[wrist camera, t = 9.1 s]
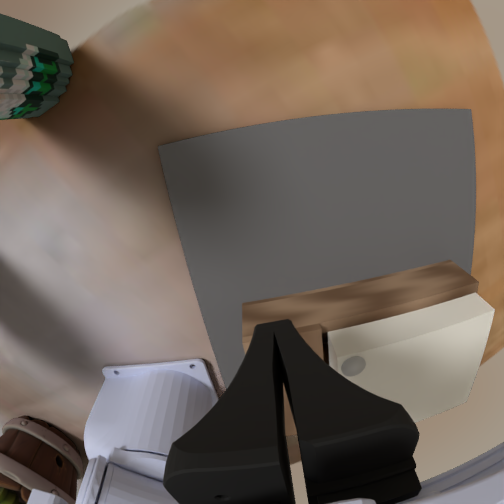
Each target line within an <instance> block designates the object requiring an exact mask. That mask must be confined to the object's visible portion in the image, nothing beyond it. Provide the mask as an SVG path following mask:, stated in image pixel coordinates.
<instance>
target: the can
mask: <svg viewBox="0 0 504 504" xmlns="http://www.w3.org/2000/svg"><path fill="white" fill-rule="evenodd" d="M73 63H74V61H73V58H72V55H71V52H70V49H69V46H68V43H67V41H66V40H64V39H61V38H60V36H59V35H57V34H54V33H52V32H50V31H47V30H44V29H42V28H39V27H36V26H34V25H31V24H29V23H26V22H23V21H20V20H18V19H15V18H12V17H9V16H6V15H3V14H0V120H5V119H20V118H30V117H39V116H41V115H42V114H43V113H45V112H46V111H47V110H49V109H50V108H51V107H53V106H54V105H55V104H57V103H58V102H59V99H58V96H60V95H61V94H63V93H64V92H65V91H67V90H66V87H65V86H66V85H67V84H69V80H68V78H69V77H70V76H72V72H71V69H70V65H71V64H73Z"/></svg>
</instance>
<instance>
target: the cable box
mask: <svg viewBox="0 0 504 504" xmlns="http://www.w3.org/2000/svg"><path fill="white" fill-rule="evenodd" d="M478 284H479V282H478V281H477V280H476V279H475V278H473V277H472V276H471V275H470V274H468V273H467V272H466V271H465V270H463V269H462V268H461V267H459V266H458V265H457V264H455V263H454V262H453V261H452V260H447V261H443V262H439V263H434V264H430V265H426V266H422V267H418V268H414V269H409V270H405V271H401V272H396V273H392V274H388V275H383V276H379V277H374V278H370V279H365V280H360V281H356V282H351V283H346V284H341V285H336V286H331V287H327V288H322V289H316V290H311V291H306V292H301V293H296V294H290V295H285V296H280V297H274V298H269V299H263V300H257V301H252V302H246V303H242V344H243V347H244V351H245V355H246V352H247V350H248V348H249V345H250V342H251V339H252V336H253V332H254V327H255V326H256V325H257V324H262V323H268V322H273V321H279V320H284V319H289V320H291V321H292V323H293V325H294V327H295V328H296V330H297V331H298V333H299V334H300V335H301V337H302V338H303V339H304V340H305V342H306V343H307V344H308V345H309V346H310V347H311V348H312V350H313V351H314V352H315V353H316V354H317V355H318V356H319V357H320V358H321V359H323V360H324V361H325V362H326V363H327V364H328V365H329V349H328V332H329V331H334V330H339V329H343V328H348V327H352V326H357V325H361V324H365V323H369V322H373V321H377V320H382V319H386V318H389V317H393V316H397V315H401V314H405V313H408V312H412V311H416V310H419V309H423V308H426V307H430V306H433V305H437V304H440V303H444V302H447V301H450V300H453V299H457V298H460V297H463V296H466V295H469V294H472V293H475V292H476V293H477V290H478ZM283 389H284V413H285V433H286V436H291V435H296V434H297V431H296V427H295V423H294V419H293V416H292V412H291V409H290V405H289V401H288V398H287V394H286V391H285V387H284V383H283Z"/></svg>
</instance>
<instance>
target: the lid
mask: <svg viewBox="0 0 504 504" xmlns="http://www.w3.org/2000/svg"><path fill="white" fill-rule="evenodd" d="M494 311H495V309H494V308H492V307H491V306H490V305H489V304H488V303H487V302H486V301H485V300H483V299H482V298H481V297H480V296H479V295H478V294H477V293H476V292H475V293H472V294H469V295H466V296H463V297H460V298H457V299H453V300H450V301H447V302H444V303H440V304H437V305H433V306H430V307H426V308H423V309H419V310H416V311H412V312H408V313H405V314H401V315H397V316H393V317H389V318H386V319H382V320H377V321H373V322H369V323H365V324H361V325H357V326H352V327H348V328H343V329H339V330H334V331H329V332H328V349H329V366H330V367H332V368H333V369H334V370H335V371H337V372H338V373H339V374H341V375H342V376H344V377H345V378H346V379H348V380H349V381H351V382H353V383H354V384H356V385H358V386H360V387H361V388H363V389H365V390H367V391H369V392H371V393H373V394H375V395H377V396H379V397H382V398H385V399H388V400H390V401H393V402H396V403H399V404H401V405H402V406H403V407H404V408H405V410H406V411H407V412H408V414H409V415H410V416H411V418H412V419H413V421H414V423H416V422H418V421H421V420H424V419H427V418H429V417H432V416H434V415H437V414H439V413H442V412H444V411H447V410H449V409H452V408H454V407H456V406H459V405H461V404H463V403H465V402H467V399H468V397H469V394H470V391H471V389H472V386H473V383H474V380H475V377H476V375H477V372H478V369H479V366H480V362H481V359H482V356H483V353H484V349H485V346H486V342H487V339H488V335H489V331H490V328H491V324H492V320H493V315H494Z"/></svg>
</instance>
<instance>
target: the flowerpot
mask: <svg viewBox="0 0 504 504" xmlns="http://www.w3.org/2000/svg"><path fill="white" fill-rule="evenodd" d="M2 433H3V435H2V436H1V437H0V504H27V502H28V500H29V497H30V494H31V492H32V489H38V490H42V491H45V492H48V493H52V494H55V495H57V496H59V497H61V498H62V499H64V500H65V501H66V502H67V503H68V504H75V503H76V491H77V480H78V479H80V478H81V477H82V474H83V473H84V470H83V463H82V460H81V458H80V453H79V451H78V450H76V446H75V445H74V443H73V442H72V441H71V440H70V439H69V438H68V437H66V436H65V435H64V434H63V433H61V432H60V431H59V430H57V429H56V428H54V427H49V425H48V424H47V423H45V422H43V421H41V420H30V418H29V417H28V416H22V417H19V418H13V419H11V420H10V421H8V422H7V423H6V424H5V425H4V426H3V428H2Z"/></svg>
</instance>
